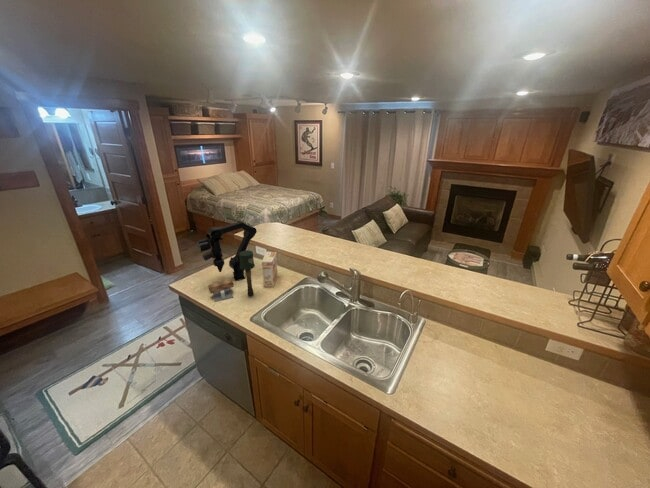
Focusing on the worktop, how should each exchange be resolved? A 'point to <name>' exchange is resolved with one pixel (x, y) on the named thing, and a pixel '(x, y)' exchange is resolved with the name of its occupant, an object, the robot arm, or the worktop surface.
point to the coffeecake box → (269, 269)
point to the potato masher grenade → (247, 268)
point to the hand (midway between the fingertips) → (219, 268)
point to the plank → (221, 286)
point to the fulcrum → (222, 295)
